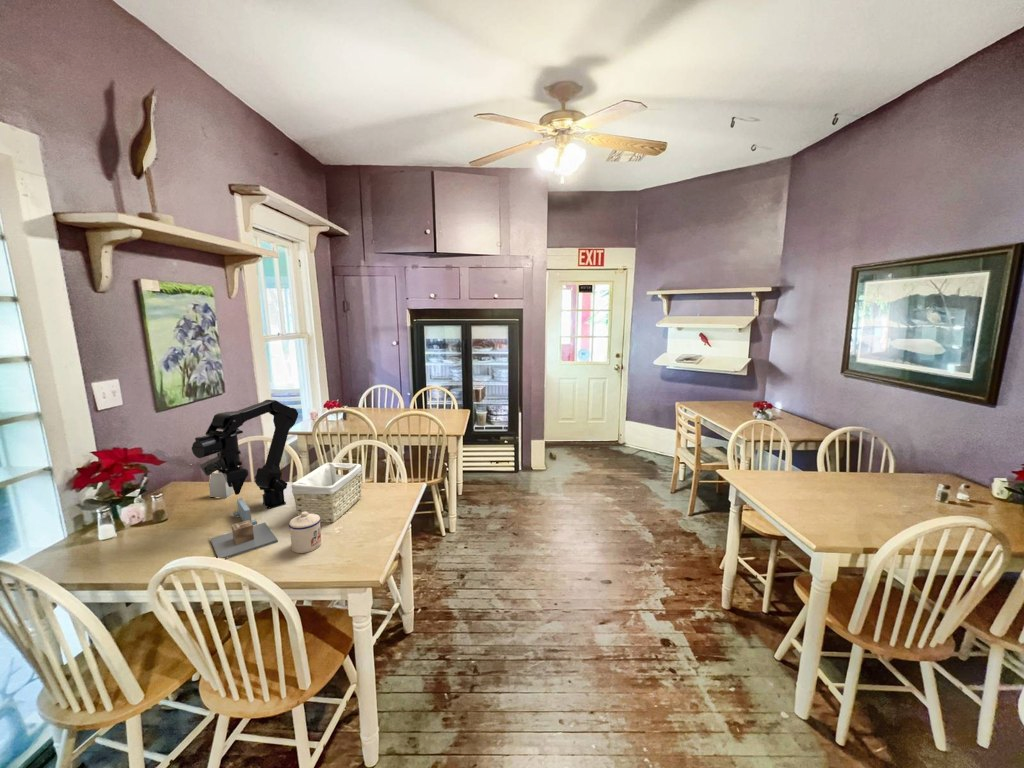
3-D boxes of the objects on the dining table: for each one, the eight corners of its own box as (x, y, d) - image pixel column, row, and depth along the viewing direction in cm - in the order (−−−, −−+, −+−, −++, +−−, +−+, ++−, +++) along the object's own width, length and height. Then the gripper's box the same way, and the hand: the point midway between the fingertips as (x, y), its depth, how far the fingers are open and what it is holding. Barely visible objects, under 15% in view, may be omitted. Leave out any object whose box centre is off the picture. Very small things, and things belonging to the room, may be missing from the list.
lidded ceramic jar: (317, 552, 129) (314, 518, 127) (286, 555, 128) (283, 520, 126) (328, 533, 141) (326, 501, 139) (300, 535, 140) (297, 503, 138)
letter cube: (250, 533, 139) (249, 519, 138) (254, 539, 135) (252, 524, 135) (233, 538, 136) (231, 524, 135) (236, 544, 132) (234, 529, 131)
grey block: (226, 498, 168) (224, 474, 167) (210, 498, 168) (207, 474, 167) (232, 494, 172) (230, 471, 170) (216, 494, 172) (214, 471, 170)
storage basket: (333, 525, 147) (331, 486, 144) (291, 522, 148) (288, 484, 146) (365, 497, 170) (363, 463, 168) (328, 495, 172) (326, 461, 170)
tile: (265, 524, 147) (265, 522, 147) (277, 541, 135) (277, 539, 135) (210, 540, 136) (210, 538, 136) (219, 561, 125) (218, 558, 124)
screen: (248, 511, 157) (247, 496, 156) (257, 523, 147) (255, 508, 146) (233, 515, 153) (231, 500, 152) (240, 528, 144) (239, 512, 143)
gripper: (195, 447, 144) (200, 489, 147) (206, 461, 132) (212, 506, 134) (232, 441, 152) (237, 480, 155) (246, 452, 139) (251, 495, 142)
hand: (233, 490), depth 146 cm, fingers open, 9 cm apart
